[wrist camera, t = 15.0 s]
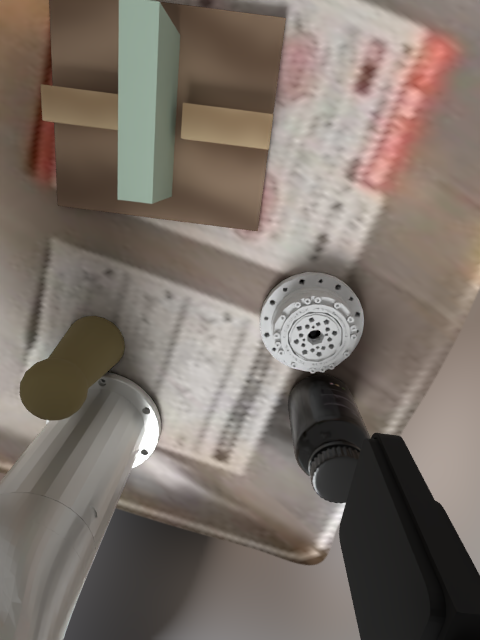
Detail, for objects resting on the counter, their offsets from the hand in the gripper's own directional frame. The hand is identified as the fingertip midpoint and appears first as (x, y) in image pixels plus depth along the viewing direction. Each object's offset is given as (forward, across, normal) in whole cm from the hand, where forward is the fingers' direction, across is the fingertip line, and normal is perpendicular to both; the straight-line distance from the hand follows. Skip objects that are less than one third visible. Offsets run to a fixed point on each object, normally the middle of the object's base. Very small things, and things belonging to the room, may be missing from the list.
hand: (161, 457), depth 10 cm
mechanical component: (+31, -8, +7) cm, 33 cm away
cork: (+31, +13, +13) cm, 35 cm away
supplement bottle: (+31, -11, +16) cm, 36 cm away
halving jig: (+30, +7, -9) cm, 32 cm away
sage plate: (+29, +7, -9) cm, 31 cm away
